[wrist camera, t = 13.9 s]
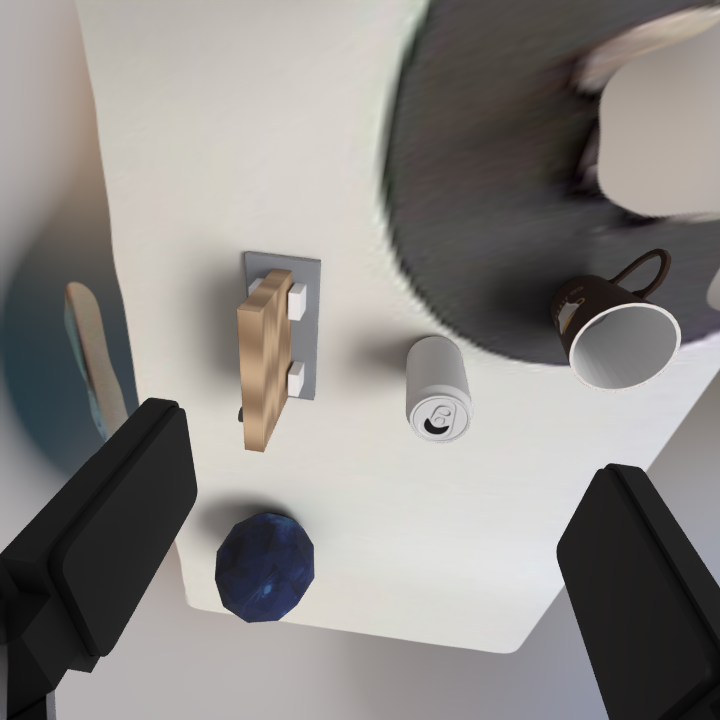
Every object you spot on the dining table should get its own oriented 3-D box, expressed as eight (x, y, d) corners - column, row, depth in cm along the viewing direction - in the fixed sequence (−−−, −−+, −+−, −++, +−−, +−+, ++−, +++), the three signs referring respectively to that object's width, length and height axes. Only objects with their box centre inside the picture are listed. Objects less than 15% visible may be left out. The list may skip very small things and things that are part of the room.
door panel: (262, 266, 45) (223, 307, 35) (292, 270, 45) (259, 312, 35) (265, 388, 53) (233, 447, 44) (290, 392, 53) (263, 452, 43)
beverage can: (398, 369, 51) (395, 434, 40) (420, 325, 47) (422, 383, 37) (446, 387, 51) (455, 455, 41) (471, 344, 48) (487, 407, 38)
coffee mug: (572, 354, 47) (607, 407, 39) (522, 305, 45) (548, 350, 36) (673, 282, 42) (740, 325, 33) (622, 223, 40) (680, 253, 31)
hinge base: (248, 251, 45) (234, 262, 42) (321, 260, 45) (313, 272, 41) (254, 387, 54) (243, 405, 51) (314, 395, 54) (308, 414, 51)
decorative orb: (316, 515, 58) (225, 605, 50) (346, 580, 65) (270, 668, 57) (261, 478, 68) (178, 547, 59) (292, 537, 75) (221, 607, 66)
